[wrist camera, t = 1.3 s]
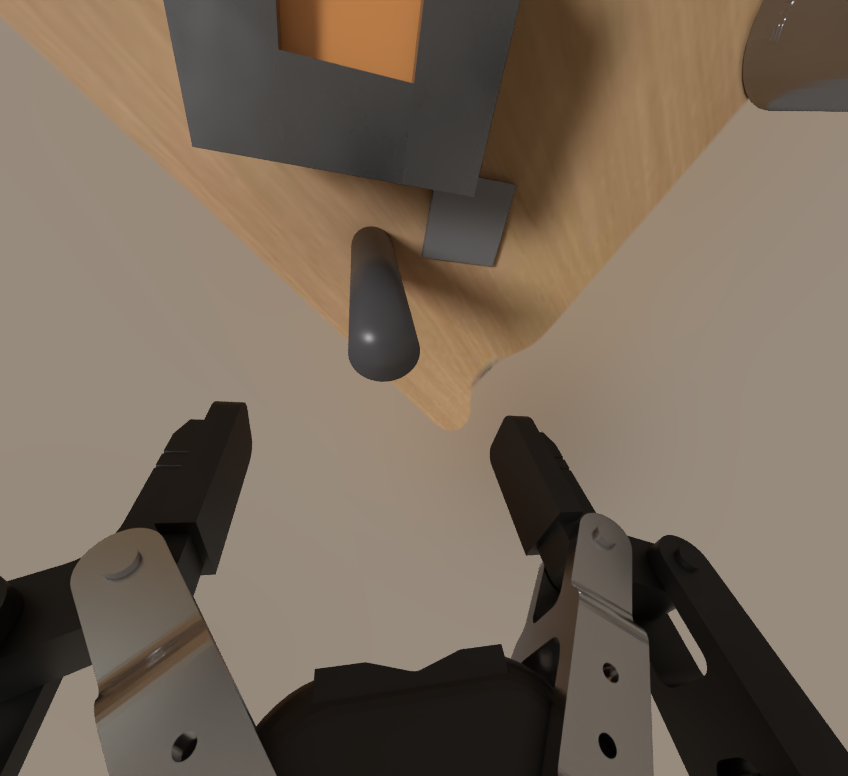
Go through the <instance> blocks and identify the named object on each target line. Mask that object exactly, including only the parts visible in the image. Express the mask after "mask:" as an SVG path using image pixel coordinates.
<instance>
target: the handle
mask: <svg viewBox="0 0 848 776" xmlns="http://www.w3.org/2000/svg"><path fill="white" fill-rule="evenodd" d="M348 346H349V347H348V356H349V360H350V363H351V365H352V366H353V368H354V369H355V370H356V371H357V372H358V373H359V374H360V375H362V376H364V377H366V378H368V379H370V380H374V381H381V382H383V381H392V380H396V379H399V378H401V377H403V376H405V375H406V374H408V373H409V372H410V371H411V370H412V369H413V368H414V367H415V365H416V364H417V361H418V359H419V355H420V347H419V342H418V338H417V335H416V331H415V327H414V324H413V320H412V316H411V312H410V309H409V305H408V301H407V298H406V294H405V290H404V286H403V283H402V279H401V275H400V272H399V268H398V264H397V260H396V257H395V253H394V249H393V246H392V242H391V239H390V237H389V236H388V235H387V233H386V232H384V231H383V230H382V229H380V228H377V227H365V228H362V229H361V230H359V231H358V232H357V233H356V234H355V236H354V237H353V240H352V245H351V277H350V310H349V343H348Z"/></svg>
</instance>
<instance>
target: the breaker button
mask: <svg viewBox="0 0 848 776" xmlns="http://www.w3.org/2000/svg"><path fill="white" fill-rule="evenodd" d="M279 5H280V22H281V40H282V50H283V51H287V52H291V53H295V54H299V55H303V56H307V57H311V58H315V59H319V60H323V61H327V62H331V63H335V64H339V65H343V66H347V67H351V68H355V69H359V70H363V71H367V72H371V73H375V74H379V75H383V76H386V77H390V78H394V79H398V80H402V81H406V82H410V83H412V75H413V67H414V58H415V49H416V41H417V32H418V23H419V15H420V6H421V0H279Z"/></svg>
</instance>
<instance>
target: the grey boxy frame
mask: <svg viewBox="0 0 848 776" xmlns="http://www.w3.org/2000/svg"><path fill="white" fill-rule="evenodd" d="M163 1H164V6H165V11H166V16H167V21H168V26H169V31H170V36H171V41H172V46H173V51H174V56H175V61H176V66H177V71H178V76H179V81H180V86H181V92H182V97H183V102H184V107H185V112H186V117H187V122H188V127H189V132H190V137H191V142H192V147H197V148H202V149H208V150H214V151H219V152H225V153H230V154H236V155H241V156H247V157H253V158H258V159H264V160H269V161H275V162H280V163H286V164H291V165H297V166H303V167H308V168H314V169H319V170H325V171H330V172H336V173H342V174H347V175H353V176H358V177H364V178H369V179H375V180H381V181H386V182H392V183H397V184H403V185H408V186H414V187H420V188H425V189H431V190H436V191H442V192H447V193H453V194H459V195H464V196H470V197H474V194H475V190H476V186H477V182H478V177H479V173H480V169H481V165H482V160H483V156H484V152H485V148H486V143H487V139H488V135H489V131H490V126H491V122H492V118H493V114H494V110H495V105H496V101H497V97H498V93H499V88H500V84H501V80H502V76H503V71H504V67H505V63H506V59H507V54H508V50H509V46H510V42H511V37H512V33H513V29H514V25H515V20H516V16H517V12H518V8H519V3H520V0H421V6H420V15H419V23H418V32H417V41H416V49H415V58H414V67H413V75H412V83H410V82H406V81H402V80H398V79H394V78H390V77H386V76H383V75H379V74H375V73H371V72H367V71H363V70H359V69H355V68H351V67H347V66H343V65H339V64H335V63H331V62H327V61H323V60H319V59H315V58H311V57H307V56H303V55H299V54H295V53H291V52H287V51H283V50H282V40H281V22H280V5H279V0H163Z"/></svg>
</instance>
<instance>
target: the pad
mask: <svg viewBox="0 0 848 776" xmlns="http://www.w3.org/2000/svg"><path fill="white" fill-rule="evenodd" d="M516 186H517V185H515V184H511V183H506V182H501V181H496V180H491V179H486V178H480V177H478V182H477V186H476V190H475V194H474V197H470V196H464V195H459V194H453V193H447V192H442V191H436V190H433V191H432V197H431V203H430V209H429V215H428V221H427V227H426V233H425V239H424V245H423V251H422V257H423V258H431V259H438V260H446V261H453V262H461V263H469V264H476V265H484V266H491V267H492V266H493V263H494V259H495V256H496V253H497V249H498V246H499V243H500V239H501V236H502V233H503V229H504V226H505V223H506V219H507V216H508V213H509V209H510V206H511V202H512V199H513V196H514V192H515V189H516Z"/></svg>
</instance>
